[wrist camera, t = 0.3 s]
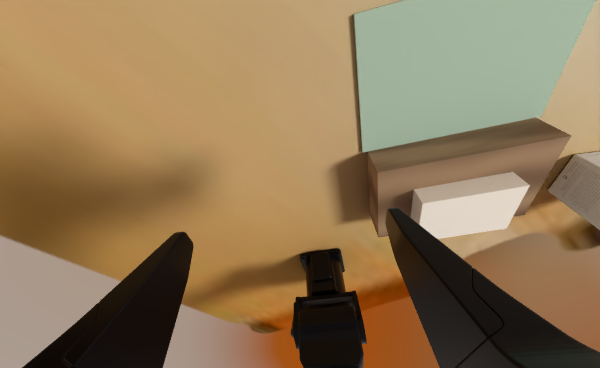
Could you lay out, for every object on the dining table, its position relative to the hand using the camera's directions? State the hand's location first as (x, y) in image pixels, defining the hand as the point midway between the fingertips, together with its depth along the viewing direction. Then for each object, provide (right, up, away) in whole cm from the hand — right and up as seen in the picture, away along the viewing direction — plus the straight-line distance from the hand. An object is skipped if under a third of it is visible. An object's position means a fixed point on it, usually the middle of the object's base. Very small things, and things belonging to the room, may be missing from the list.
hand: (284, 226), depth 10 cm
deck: (+17, +3, +16) cm, 24 cm away
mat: (+14, +11, +9) cm, 20 cm away
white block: (+17, 0, +14) cm, 22 cm away
